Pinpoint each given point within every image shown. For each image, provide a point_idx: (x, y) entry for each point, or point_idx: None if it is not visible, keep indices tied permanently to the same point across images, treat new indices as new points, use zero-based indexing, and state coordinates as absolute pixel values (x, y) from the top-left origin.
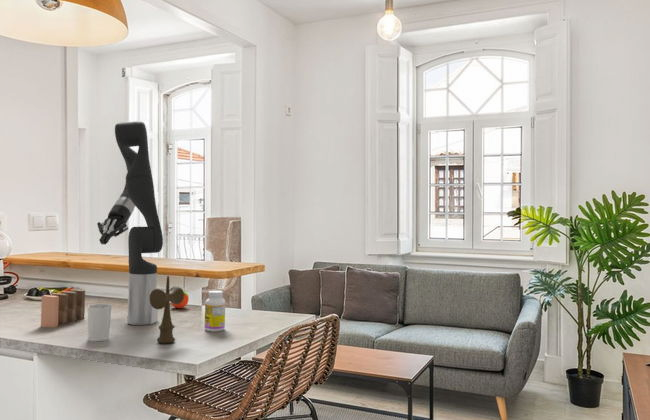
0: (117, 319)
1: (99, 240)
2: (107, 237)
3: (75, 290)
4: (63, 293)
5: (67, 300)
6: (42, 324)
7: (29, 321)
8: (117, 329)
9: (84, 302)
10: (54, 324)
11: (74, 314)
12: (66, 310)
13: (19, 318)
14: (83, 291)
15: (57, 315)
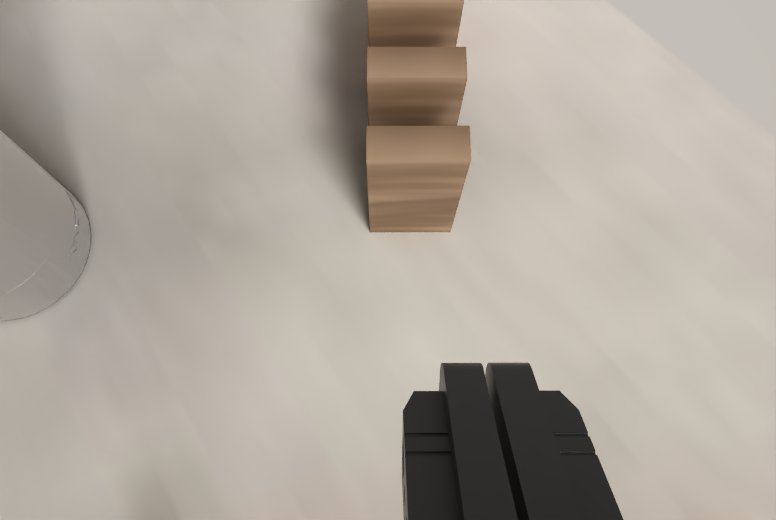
0: (184, 275)
1: (557, 391)
2: (414, 463)
3: (420, 127)
4: (442, 52)
5: (368, 26)
6: None
7: (571, 87)
8: (72, 84)
9: (368, 193)
10: None
11: None
12: None
13: (672, 123)
14: (366, 145)
15: None
